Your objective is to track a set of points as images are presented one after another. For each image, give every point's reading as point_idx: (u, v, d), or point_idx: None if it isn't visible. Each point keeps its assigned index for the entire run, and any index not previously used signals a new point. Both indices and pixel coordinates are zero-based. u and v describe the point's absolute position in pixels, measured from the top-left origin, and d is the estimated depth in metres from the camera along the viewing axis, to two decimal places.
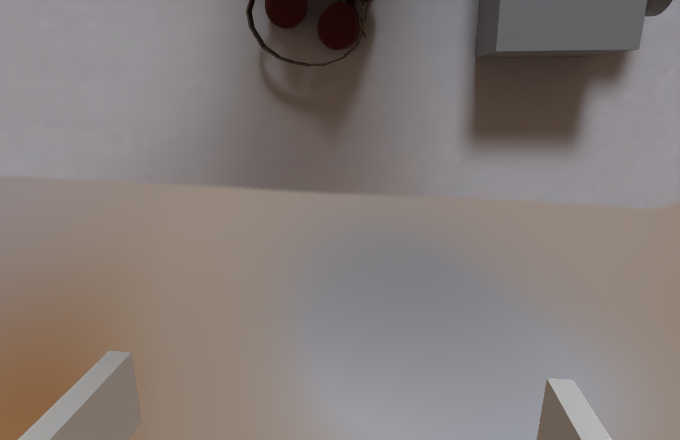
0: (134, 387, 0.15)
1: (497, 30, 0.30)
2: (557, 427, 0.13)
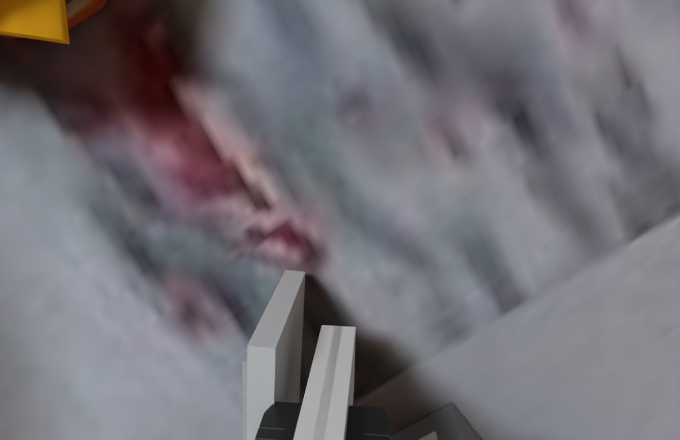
0: None
1: None
2: None
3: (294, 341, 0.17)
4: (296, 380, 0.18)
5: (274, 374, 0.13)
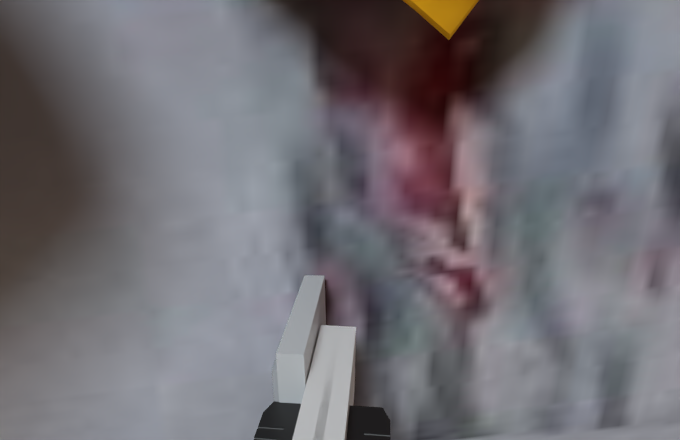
0: None
1: None
2: None
3: None
4: None
5: (304, 380, 0.13)
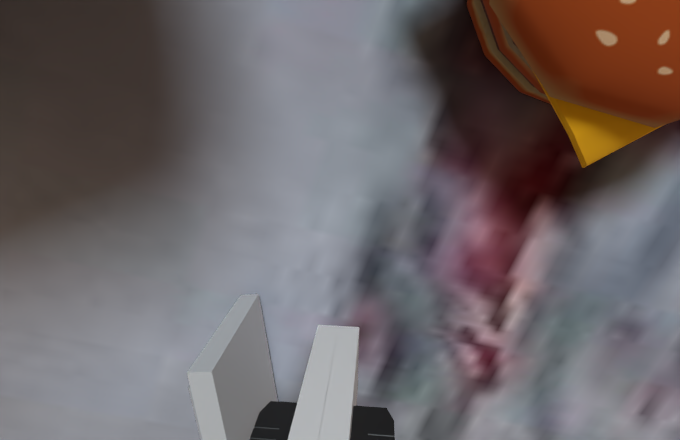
0: None
1: None
2: None
3: (252, 360, 0.18)
4: (268, 396, 0.19)
5: (216, 395, 0.14)
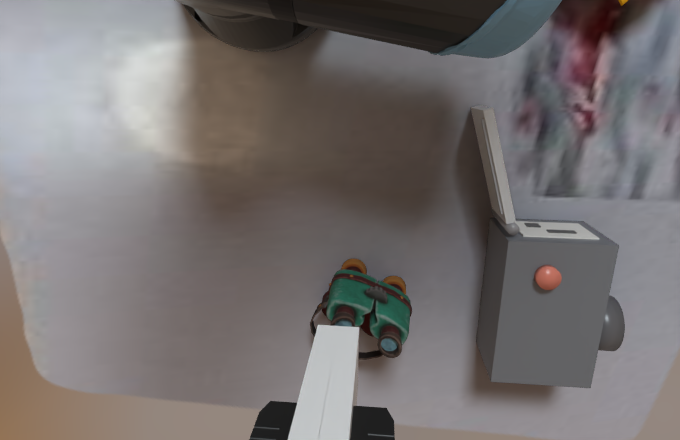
0: None
1: (492, 368, 0.43)
2: None
3: None
4: None
5: (494, 118, 0.37)
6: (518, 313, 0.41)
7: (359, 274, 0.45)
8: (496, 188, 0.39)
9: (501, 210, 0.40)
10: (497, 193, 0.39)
